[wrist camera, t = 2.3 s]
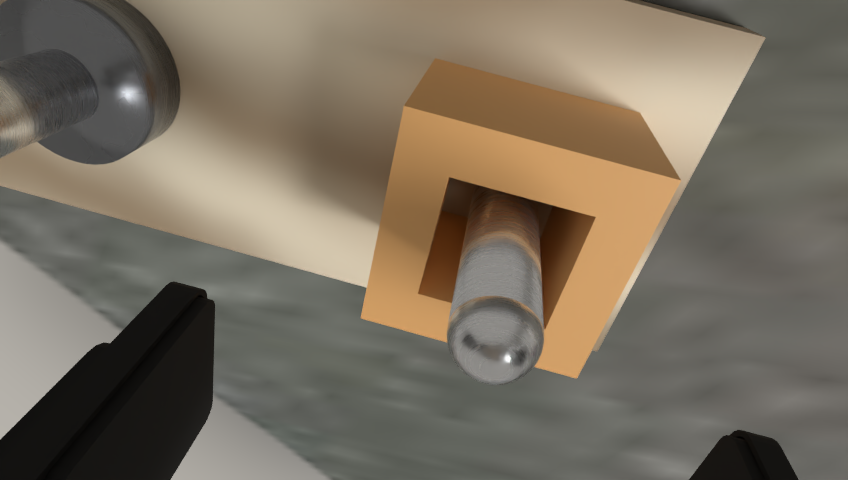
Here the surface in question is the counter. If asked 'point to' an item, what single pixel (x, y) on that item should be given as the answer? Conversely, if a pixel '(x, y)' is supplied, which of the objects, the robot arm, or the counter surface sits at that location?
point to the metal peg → (83, 79)
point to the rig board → (373, 111)
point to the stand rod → (498, 290)
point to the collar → (526, 177)
